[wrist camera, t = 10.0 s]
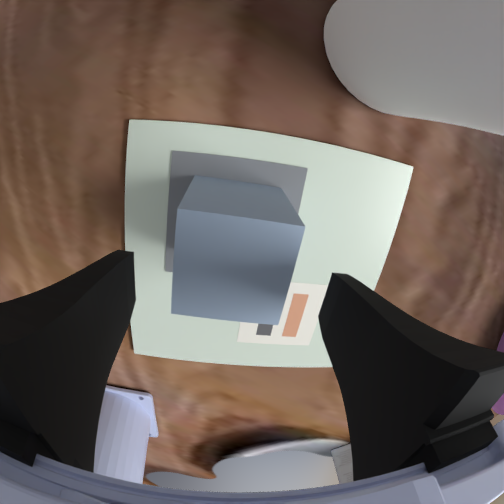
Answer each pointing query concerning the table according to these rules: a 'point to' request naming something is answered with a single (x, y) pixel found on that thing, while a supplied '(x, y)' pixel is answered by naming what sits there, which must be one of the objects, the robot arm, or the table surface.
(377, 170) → the mat
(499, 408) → the container set
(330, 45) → the bottle
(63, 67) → the table surface
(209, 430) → the table surface
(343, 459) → the skincare box
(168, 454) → the table surface
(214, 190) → the blue-grey rectangular block
